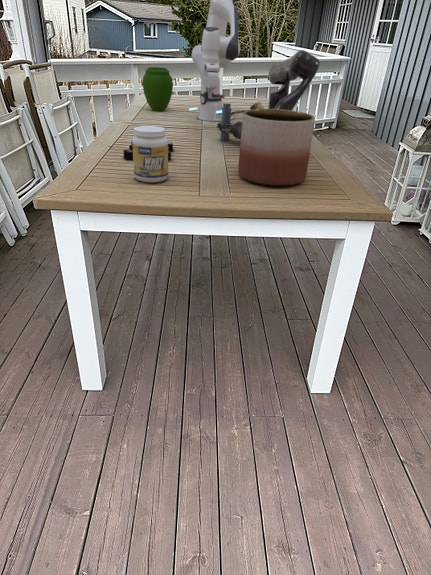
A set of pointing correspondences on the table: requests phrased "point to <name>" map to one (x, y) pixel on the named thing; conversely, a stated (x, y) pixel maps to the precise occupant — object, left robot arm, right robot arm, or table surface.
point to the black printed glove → (129, 153)
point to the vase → (157, 88)
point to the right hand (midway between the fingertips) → (222, 124)
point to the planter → (275, 146)
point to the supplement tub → (150, 154)
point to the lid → (207, 94)
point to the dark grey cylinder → (226, 120)
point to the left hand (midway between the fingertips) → (208, 97)
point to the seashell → (257, 106)
